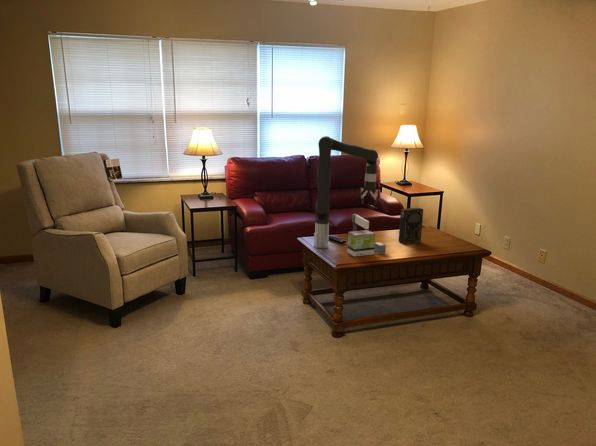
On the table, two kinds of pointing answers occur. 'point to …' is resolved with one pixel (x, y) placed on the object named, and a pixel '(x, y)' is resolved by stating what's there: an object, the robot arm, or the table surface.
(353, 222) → the arm post
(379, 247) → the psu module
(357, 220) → the bar
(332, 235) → the table surface
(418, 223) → the dark grey tall block
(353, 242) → the tea box
